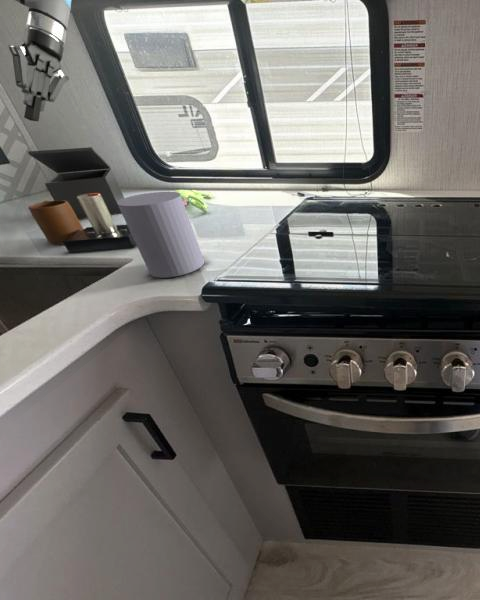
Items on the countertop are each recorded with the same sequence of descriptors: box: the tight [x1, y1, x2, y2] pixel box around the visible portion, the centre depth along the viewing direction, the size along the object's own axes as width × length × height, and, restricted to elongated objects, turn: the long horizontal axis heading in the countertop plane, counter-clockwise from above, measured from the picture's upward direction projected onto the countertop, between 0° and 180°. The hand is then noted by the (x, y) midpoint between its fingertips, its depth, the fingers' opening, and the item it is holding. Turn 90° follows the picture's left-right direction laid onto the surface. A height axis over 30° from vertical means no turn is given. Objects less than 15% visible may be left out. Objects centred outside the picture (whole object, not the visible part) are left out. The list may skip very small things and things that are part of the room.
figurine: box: [172, 189, 213, 214], centre depth 109 cm, size 18×27×6 cm
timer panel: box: [62, 224, 137, 254], centre depth 84 cm, size 14×10×3 cm
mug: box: [28, 200, 84, 245], centre depth 86 cm, size 12×8×9 cm, turn 49°
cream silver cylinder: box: [77, 193, 118, 235], centre depth 80 cm, size 4×4×9 cm
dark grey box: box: [44, 168, 125, 220], centre depth 107 cm, size 17×14×11 cm
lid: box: [27, 146, 112, 174], centre depth 102 cm, size 18×14×1 cm
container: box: [117, 191, 205, 279], centre depth 68 cm, size 10×10×15 cm
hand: (31, 119), depth 94 cm, fingers closed
